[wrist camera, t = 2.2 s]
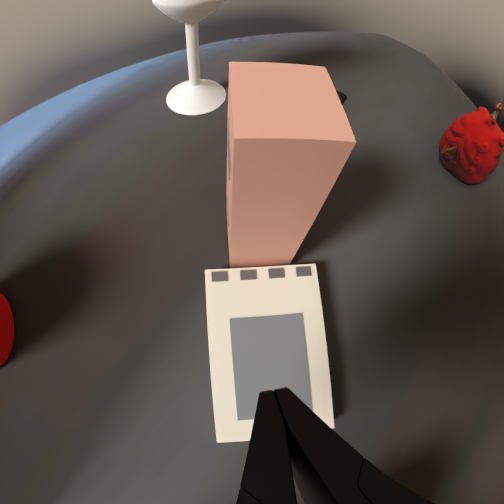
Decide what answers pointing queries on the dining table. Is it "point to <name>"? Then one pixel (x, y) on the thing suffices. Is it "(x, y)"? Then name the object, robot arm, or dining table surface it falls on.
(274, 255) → the block
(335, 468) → the robot arm
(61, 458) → the dining table surface
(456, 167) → the red clay folk toy
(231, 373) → the pad
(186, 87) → the champagne flute
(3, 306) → the soda can
